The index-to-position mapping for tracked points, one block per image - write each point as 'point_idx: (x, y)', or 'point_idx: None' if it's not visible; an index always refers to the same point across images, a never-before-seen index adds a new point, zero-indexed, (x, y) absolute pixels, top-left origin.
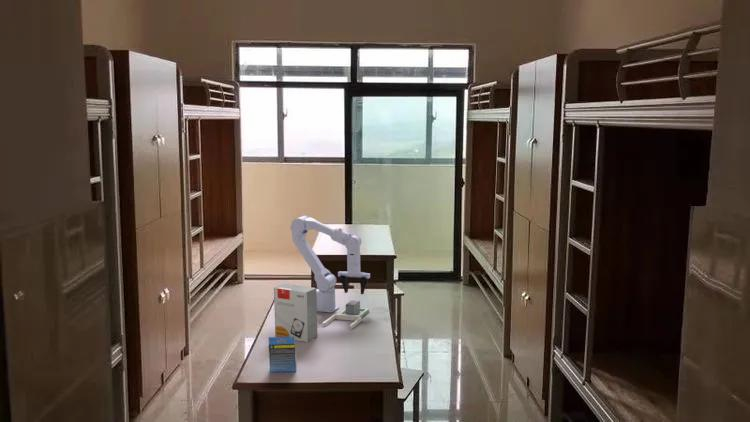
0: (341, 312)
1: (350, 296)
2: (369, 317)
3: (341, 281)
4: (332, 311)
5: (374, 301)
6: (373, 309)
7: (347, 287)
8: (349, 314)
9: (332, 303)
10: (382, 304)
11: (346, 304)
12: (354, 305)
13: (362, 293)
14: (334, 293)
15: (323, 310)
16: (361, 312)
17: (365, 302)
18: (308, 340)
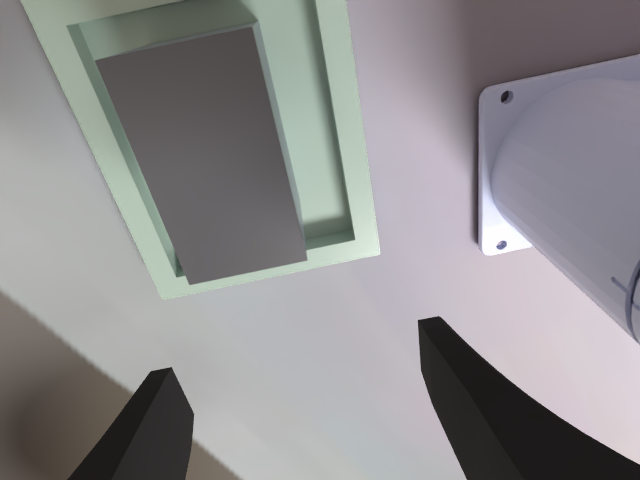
0: (335, 41)
1: None
2: (25, 139)
3: (622, 471)
4: (483, 99)
5: (305, 470)
6: (186, 347)
7: (448, 426)
8: (208, 32)
9: (540, 167)
10: (213, 451)
11: (242, 40)
12: (100, 69)
13: (143, 385)
14: (600, 269)
15: (591, 79)
16: None
17: (349, 434)
18: None
